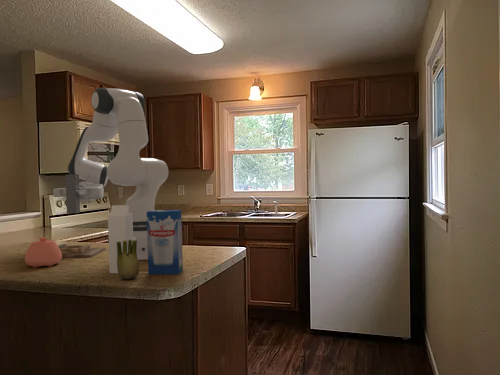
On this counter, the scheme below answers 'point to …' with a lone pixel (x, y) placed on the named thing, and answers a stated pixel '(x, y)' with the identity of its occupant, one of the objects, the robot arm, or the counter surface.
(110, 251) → the milk
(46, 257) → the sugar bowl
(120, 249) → the fennel bulb
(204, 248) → the counter surface
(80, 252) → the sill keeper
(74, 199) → the bar
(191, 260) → the counter surface
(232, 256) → the counter surface
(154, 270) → the milk carton
